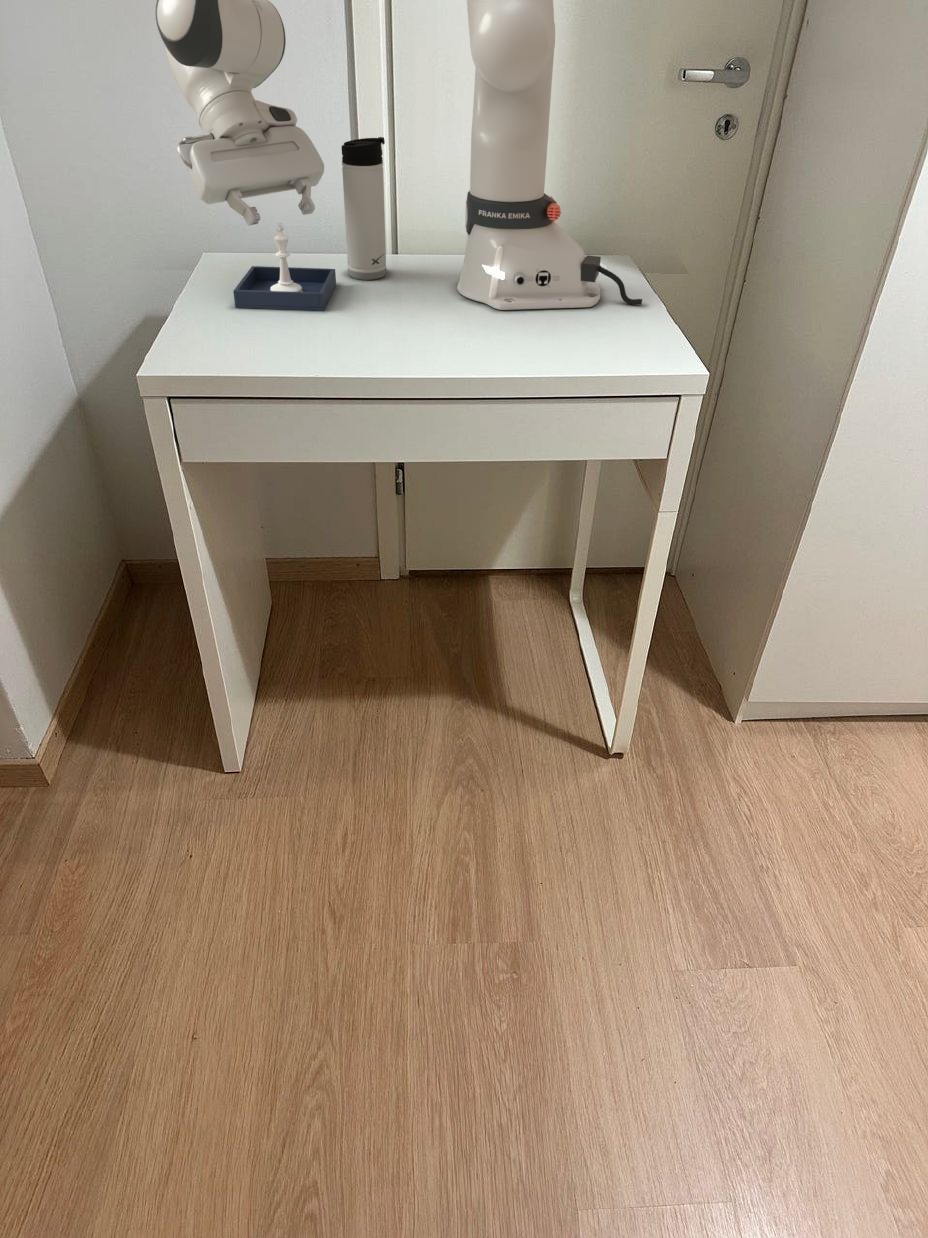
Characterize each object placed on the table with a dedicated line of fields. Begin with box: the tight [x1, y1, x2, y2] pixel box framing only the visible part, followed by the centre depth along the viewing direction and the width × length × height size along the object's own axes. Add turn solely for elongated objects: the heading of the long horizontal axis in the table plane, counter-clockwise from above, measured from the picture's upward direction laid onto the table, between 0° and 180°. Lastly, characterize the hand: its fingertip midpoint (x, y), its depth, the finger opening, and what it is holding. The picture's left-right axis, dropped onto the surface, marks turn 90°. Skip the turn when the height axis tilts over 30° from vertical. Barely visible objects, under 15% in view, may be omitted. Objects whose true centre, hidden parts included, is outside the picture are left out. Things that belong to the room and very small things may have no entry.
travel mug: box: [340, 136, 387, 281], centre depth 138 cm, size 6×7×20 cm
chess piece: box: [270, 222, 303, 292], centre depth 132 cm, size 5×5×10 cm
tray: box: [232, 265, 337, 312], centre depth 134 cm, size 13×12×2 cm
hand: (282, 216), depth 128 cm, fingers open, 8 cm apart
